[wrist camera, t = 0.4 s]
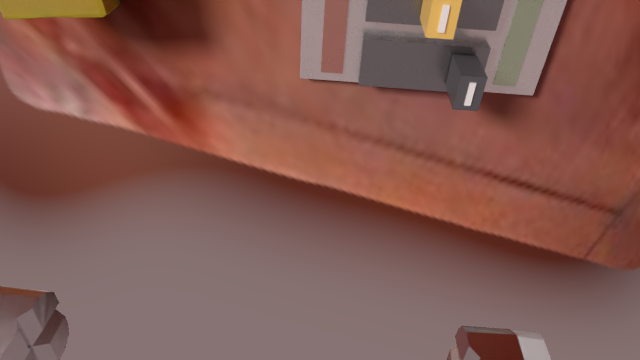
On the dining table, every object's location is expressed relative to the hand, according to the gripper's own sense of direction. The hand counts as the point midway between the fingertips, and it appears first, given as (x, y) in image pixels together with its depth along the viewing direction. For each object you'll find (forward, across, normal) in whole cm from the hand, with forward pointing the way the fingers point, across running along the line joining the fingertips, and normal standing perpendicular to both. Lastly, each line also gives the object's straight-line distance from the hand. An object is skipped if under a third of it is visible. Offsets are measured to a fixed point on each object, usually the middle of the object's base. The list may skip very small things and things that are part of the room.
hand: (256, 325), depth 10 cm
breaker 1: (+42, -10, +6) cm, 43 cm away
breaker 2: (+42, -14, +13) cm, 46 cm away
